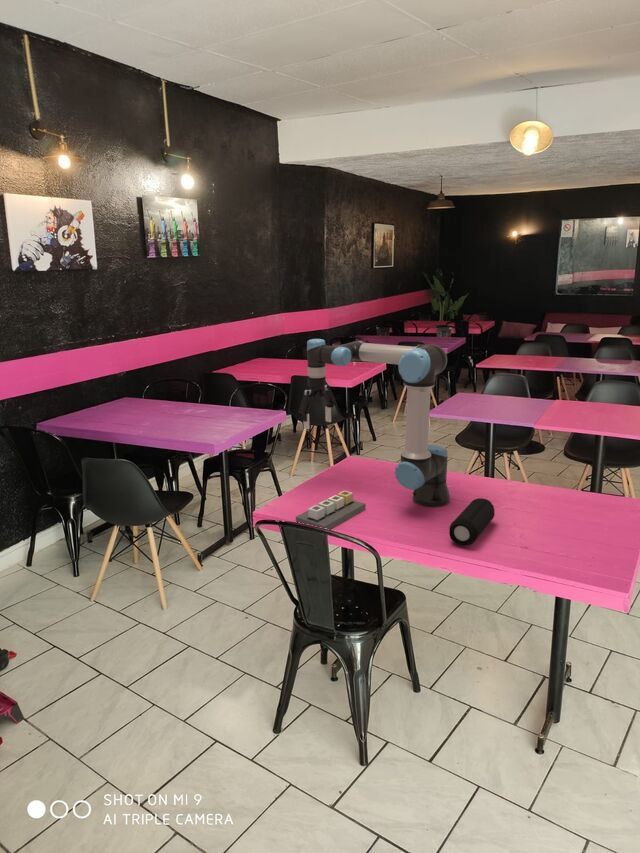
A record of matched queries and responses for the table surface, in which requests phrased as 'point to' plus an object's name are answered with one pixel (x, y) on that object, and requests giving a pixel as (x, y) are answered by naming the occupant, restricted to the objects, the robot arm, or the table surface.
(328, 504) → the key
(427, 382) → the robot arm
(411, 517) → the table surface
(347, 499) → the key
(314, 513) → the key
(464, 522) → the portable speaker
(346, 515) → the keypad
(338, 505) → the key
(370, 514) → the table surface
